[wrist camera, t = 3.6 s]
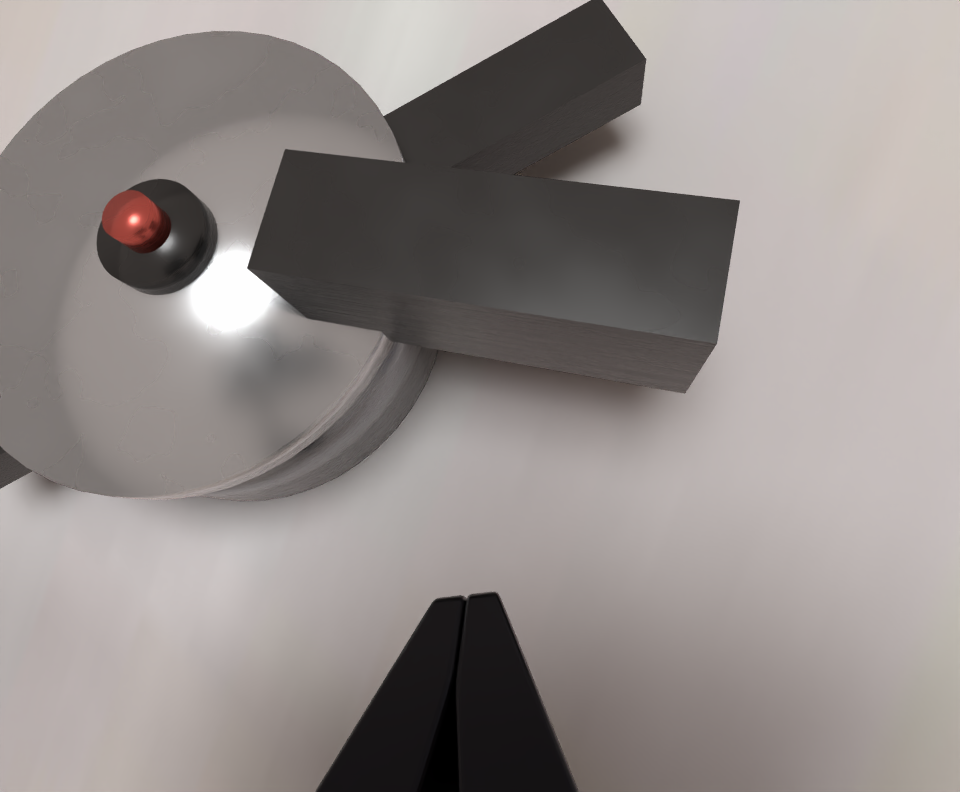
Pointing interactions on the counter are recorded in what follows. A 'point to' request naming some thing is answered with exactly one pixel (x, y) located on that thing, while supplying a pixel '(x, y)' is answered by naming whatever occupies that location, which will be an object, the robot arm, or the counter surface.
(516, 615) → the counter surface
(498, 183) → the lid
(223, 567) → the counter surface
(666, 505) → the counter surface
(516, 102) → the grey round flat pan
